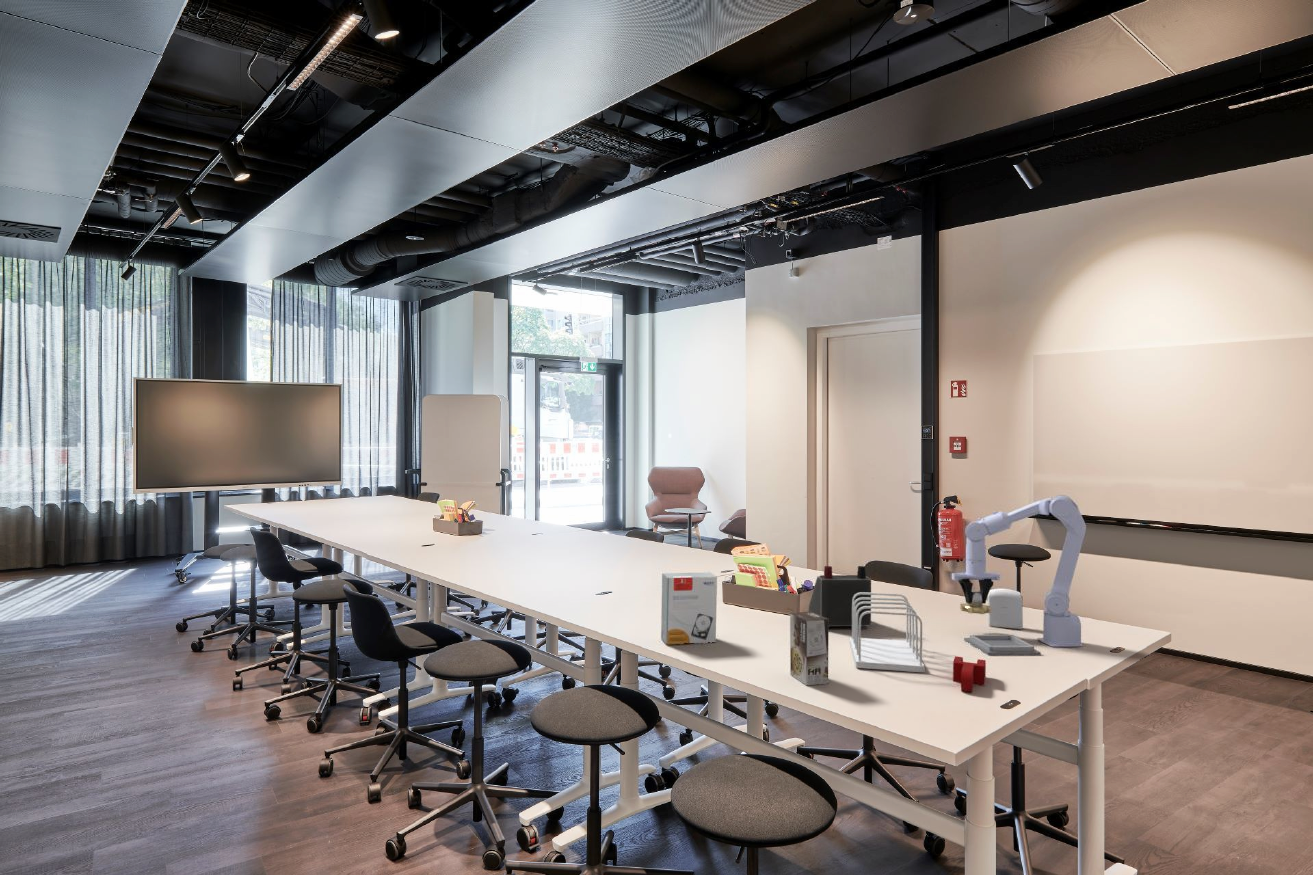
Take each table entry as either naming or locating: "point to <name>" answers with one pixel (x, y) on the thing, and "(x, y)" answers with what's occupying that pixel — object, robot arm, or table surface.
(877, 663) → the file sorter
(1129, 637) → the table surface
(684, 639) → the hard drive box
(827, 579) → the voltmeter
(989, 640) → the plate
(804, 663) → the coffee box
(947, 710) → the table surface
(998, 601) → the photo printer
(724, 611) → the table surface
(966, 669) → the mechanical linkage
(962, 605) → the planet gear
